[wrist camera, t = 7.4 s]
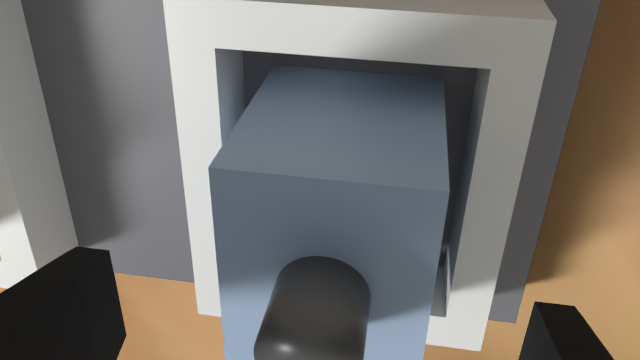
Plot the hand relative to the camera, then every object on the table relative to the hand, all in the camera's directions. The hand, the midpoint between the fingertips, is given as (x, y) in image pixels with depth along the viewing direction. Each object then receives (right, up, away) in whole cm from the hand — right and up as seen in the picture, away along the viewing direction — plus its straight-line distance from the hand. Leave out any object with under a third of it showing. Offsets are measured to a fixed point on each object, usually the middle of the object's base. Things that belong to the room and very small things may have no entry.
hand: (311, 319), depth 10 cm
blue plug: (+1, +3, +5) cm, 6 cm away
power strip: (-6, +4, +7) cm, 10 cm away
